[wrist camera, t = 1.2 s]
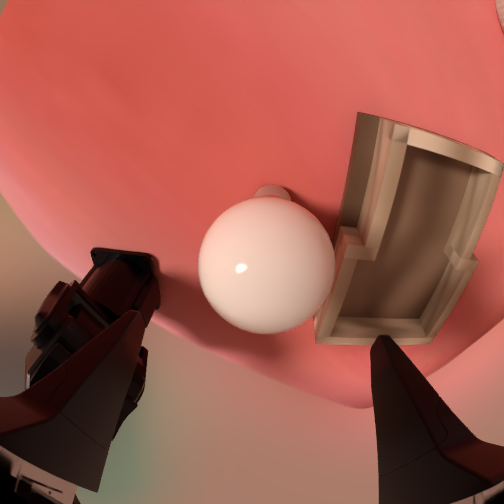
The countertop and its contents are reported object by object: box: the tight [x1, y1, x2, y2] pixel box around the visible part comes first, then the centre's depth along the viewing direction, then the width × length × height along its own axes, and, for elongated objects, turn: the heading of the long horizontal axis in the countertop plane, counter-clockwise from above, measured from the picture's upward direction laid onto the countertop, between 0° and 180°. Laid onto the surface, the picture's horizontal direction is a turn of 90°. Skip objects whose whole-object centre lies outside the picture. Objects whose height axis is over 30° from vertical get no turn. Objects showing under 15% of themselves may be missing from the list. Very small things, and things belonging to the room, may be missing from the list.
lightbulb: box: [198, 185, 336, 334], centre depth 15 cm, size 6×6×11 cm
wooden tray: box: [313, 112, 504, 345], centre depth 19 cm, size 12×18×4 cm, turn 177°
